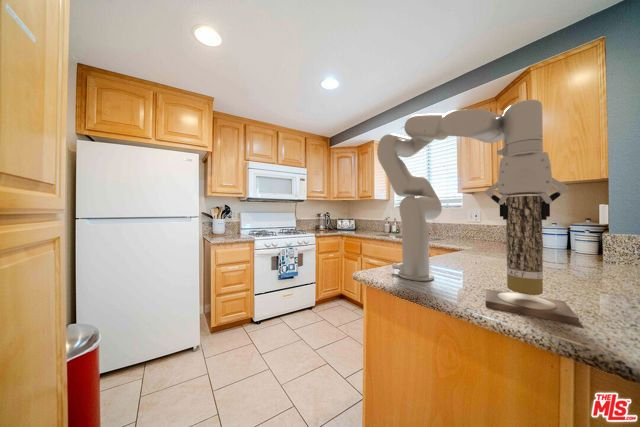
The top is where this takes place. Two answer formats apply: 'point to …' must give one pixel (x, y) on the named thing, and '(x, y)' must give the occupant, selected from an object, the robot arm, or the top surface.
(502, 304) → the walnut board
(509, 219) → the brown cylinder
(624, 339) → the top surface
